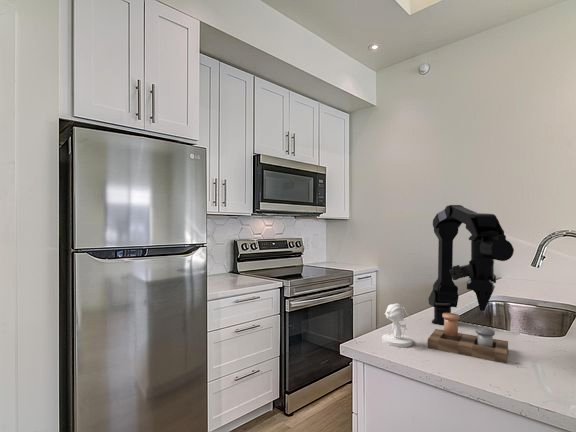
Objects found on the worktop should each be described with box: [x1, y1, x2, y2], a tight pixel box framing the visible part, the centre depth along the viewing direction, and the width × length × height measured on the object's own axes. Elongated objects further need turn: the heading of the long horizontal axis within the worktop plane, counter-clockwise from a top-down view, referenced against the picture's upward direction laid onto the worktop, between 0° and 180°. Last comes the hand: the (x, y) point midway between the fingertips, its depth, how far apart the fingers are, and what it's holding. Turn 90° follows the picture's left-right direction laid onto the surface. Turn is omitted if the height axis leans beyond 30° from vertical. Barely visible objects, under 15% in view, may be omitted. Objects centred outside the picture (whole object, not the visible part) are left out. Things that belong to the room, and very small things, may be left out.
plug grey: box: [475, 327, 496, 348], centre depth 99 cm, size 5×5×6 cm
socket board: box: [427, 328, 509, 365], centre depth 102 cm, size 12×20×2 cm, turn 56°
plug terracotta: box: [442, 312, 461, 336], centre depth 104 cm, size 5×5×6 cm
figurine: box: [381, 303, 414, 348], centre depth 108 cm, size 9×9×12 cm
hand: (482, 310), depth 100 cm, fingers closed
